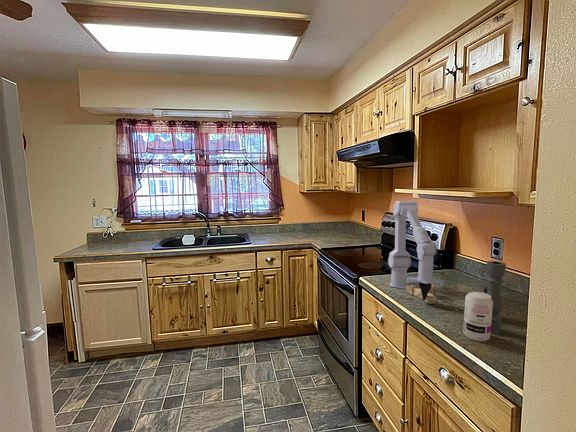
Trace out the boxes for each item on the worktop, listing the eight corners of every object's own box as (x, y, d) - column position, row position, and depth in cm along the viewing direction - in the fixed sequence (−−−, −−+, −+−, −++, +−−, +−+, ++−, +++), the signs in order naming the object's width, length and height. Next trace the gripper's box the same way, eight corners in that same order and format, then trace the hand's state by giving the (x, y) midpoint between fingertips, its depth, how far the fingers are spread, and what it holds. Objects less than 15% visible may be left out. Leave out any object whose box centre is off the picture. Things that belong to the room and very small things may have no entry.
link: (406, 291, 156) (406, 285, 156) (414, 290, 157) (414, 284, 157) (428, 304, 141) (428, 297, 140) (437, 303, 142) (437, 296, 141)
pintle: (409, 291, 157) (410, 280, 156) (417, 292, 155) (417, 281, 155) (408, 293, 154) (409, 282, 153) (416, 294, 152) (416, 283, 152)
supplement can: (478, 329, 118) (480, 290, 116) (495, 341, 110) (499, 298, 108) (457, 331, 117) (460, 291, 115) (474, 343, 108) (477, 300, 107)
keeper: (423, 297, 150) (424, 286, 149) (427, 293, 154) (427, 283, 154) (430, 298, 148) (431, 287, 147) (434, 294, 152) (434, 284, 152)
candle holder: (478, 329, 118) (483, 262, 115) (485, 324, 122) (490, 259, 119) (497, 335, 114) (502, 266, 110) (504, 330, 117) (509, 263, 114)
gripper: (408, 270, 139) (407, 301, 140) (445, 273, 135) (443, 304, 136) (407, 266, 145) (406, 295, 147) (442, 268, 142) (440, 298, 143)
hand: (424, 299), depth 142 cm, fingers closed
